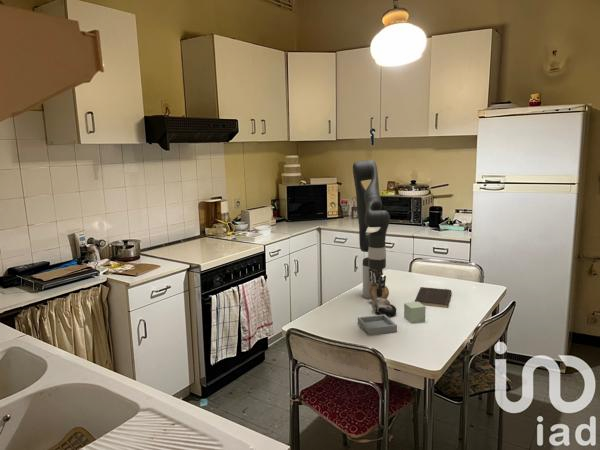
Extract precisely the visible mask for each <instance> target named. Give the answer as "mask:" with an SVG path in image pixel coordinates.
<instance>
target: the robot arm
mask: <svg viewBox="0 0 600 450" xmlns="http://www.w3.org/2000/svg"><path fill="white" fill-rule="evenodd" d="M352 175H353V182H354V187H355V198H356V199H355V200H356V211H357V213H356V214H357V219H358V231H359V232H358V236H359V238H358V239H359V242H358V243H359V248H360V251H361V252H365V253H367V255H368V256H367V257H364V258H363V259H362V297H363V298H365V299H368V300H369V299H370V300H373V299H372V297H371V295H370V294H369V283H376V286H377V297H382V288H385V286H386V281H387V280H386V279H387V276H386V275H384V272H383V270H384V269H385V268H386V267H387V250H386V237H387V232H388V227H389V225H390V222H391V216H390V213H389V212H388V211H387V210H385V209H383V210H382V208H383V202H382V198H381V194H380V185H379V184H380V183H379V176H378V175H379V173H378V167H377V163H376V162H375V160H374V159H367V160H358V161H355V162H353V164H352ZM362 181H370V182H369V184H368V186H367V187H366V188H365V187H364V186H363V184H362ZM369 228H379V229H378V230H376V231H373V232H370V233H367V230H368V229H369ZM378 283H379V285H378Z"/></svg>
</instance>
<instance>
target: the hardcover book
mask: <svg viewBox="0 0 600 450" xmlns="http://www.w3.org/2000/svg"><path fill="white" fill-rule="evenodd" d="M451 297H452V290H451V289H447V288H436V287H435V288H434V287H425V286H423V287H421V286H420V288H419V289H418V291H417V294H416V297H415V300H414V302H420V303H421V304H422V305H424V306H425V307H426V306H427V307H428V306H429V307H436V308H445V309H446V308H447V309H448V308H449V305H450V301H451Z"/></svg>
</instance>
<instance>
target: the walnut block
mask: <svg viewBox="0 0 600 450" xmlns="http://www.w3.org/2000/svg"><path fill="white" fill-rule="evenodd" d="M378 285H379V283H378ZM369 294H370V295H371V296H372V297H373V298H378V297H377V286H376V283H369ZM382 297H385V288H382Z"/></svg>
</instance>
